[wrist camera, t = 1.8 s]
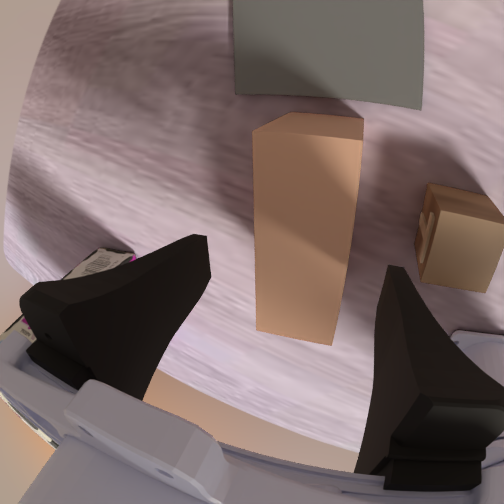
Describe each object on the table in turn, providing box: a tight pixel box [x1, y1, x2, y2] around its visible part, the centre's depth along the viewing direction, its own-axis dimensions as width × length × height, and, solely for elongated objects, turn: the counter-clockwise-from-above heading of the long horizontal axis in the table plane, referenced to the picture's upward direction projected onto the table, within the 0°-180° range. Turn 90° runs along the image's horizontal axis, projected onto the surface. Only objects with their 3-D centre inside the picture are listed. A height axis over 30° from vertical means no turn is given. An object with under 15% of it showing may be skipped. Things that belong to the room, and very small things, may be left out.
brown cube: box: [414, 183, 504, 293], centre depth 15 cm, size 4×4×4 cm
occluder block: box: [252, 112, 364, 346], centre depth 16 cm, size 10×4×6 cm, turn 2°
